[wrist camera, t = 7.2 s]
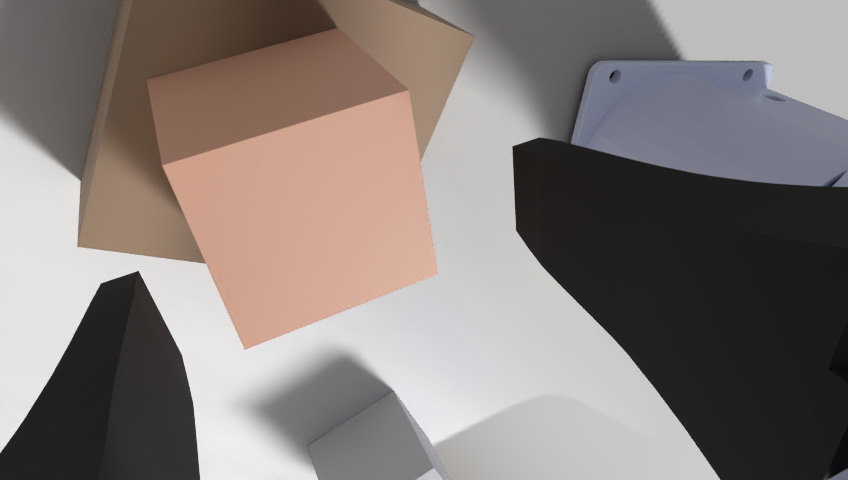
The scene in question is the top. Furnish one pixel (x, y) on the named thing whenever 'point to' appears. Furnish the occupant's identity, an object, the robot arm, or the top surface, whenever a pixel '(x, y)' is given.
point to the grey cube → (377, 447)
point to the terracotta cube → (296, 180)
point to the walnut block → (211, 41)
